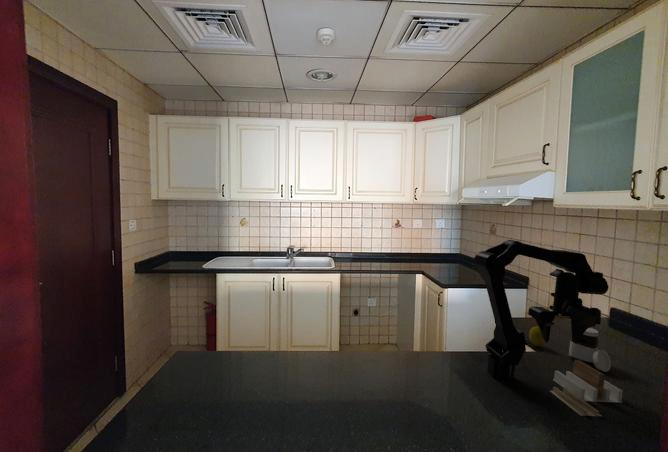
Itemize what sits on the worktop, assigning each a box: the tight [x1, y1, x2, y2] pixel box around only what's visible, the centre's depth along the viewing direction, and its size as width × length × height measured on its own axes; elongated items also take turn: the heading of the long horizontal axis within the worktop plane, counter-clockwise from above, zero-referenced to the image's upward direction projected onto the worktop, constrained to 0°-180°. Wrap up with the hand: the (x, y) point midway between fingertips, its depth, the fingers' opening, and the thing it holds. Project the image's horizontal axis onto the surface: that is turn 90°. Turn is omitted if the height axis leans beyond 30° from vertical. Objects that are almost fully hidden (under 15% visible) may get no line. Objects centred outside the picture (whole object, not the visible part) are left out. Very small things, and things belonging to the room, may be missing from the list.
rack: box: [552, 370, 624, 403], centre depth 85 cm, size 12×10×4 cm
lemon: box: [528, 325, 546, 347], centre depth 115 cm, size 6×6×8 cm
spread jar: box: [568, 327, 612, 373], centre depth 104 cm, size 12×11×12 cm
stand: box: [549, 386, 602, 417], centre depth 79 cm, size 6×10×2 cm, turn 3°
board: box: [572, 360, 606, 400], centre depth 85 cm, size 2×8×7 cm, turn 3°
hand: (560, 342), depth 90 cm, fingers open, 9 cm apart
